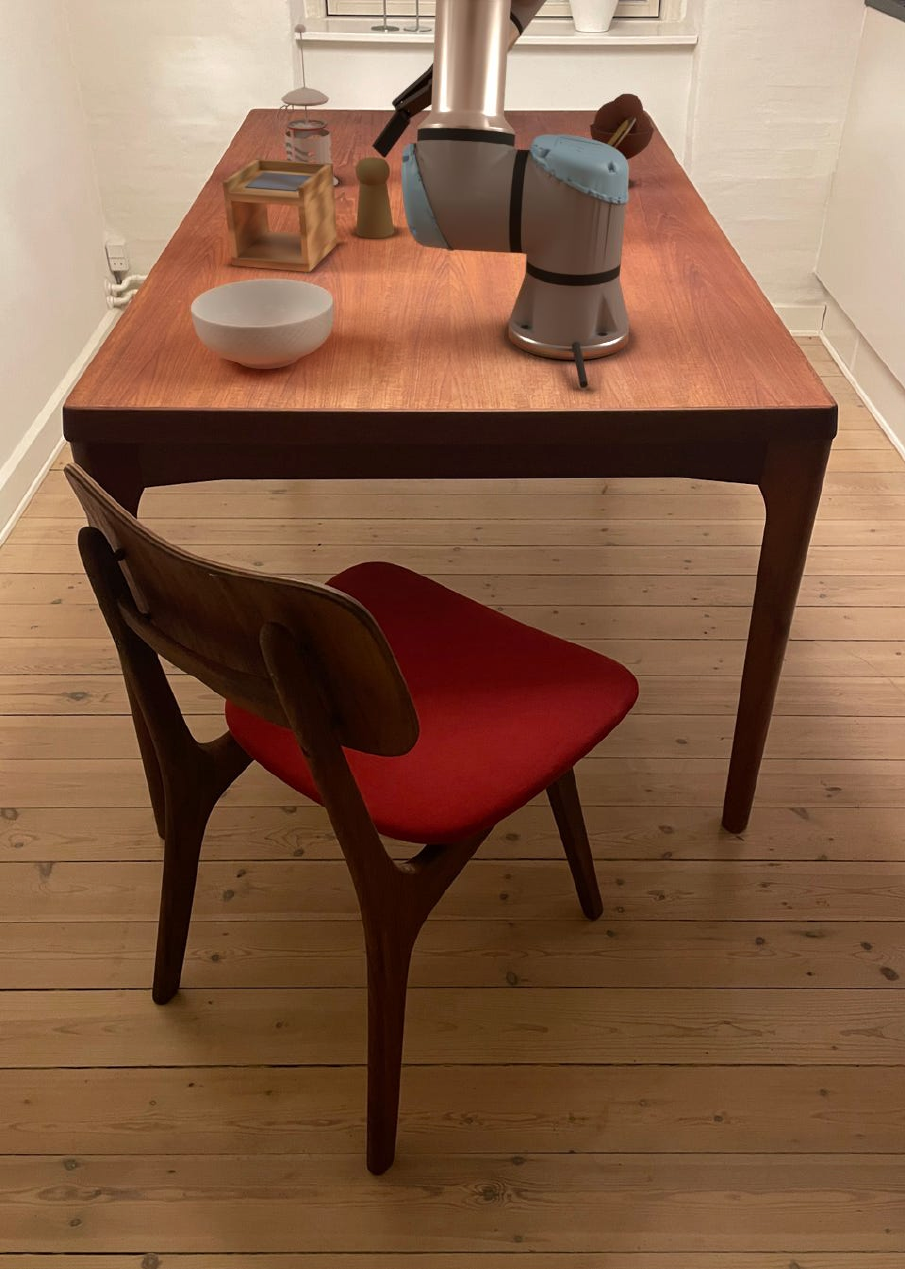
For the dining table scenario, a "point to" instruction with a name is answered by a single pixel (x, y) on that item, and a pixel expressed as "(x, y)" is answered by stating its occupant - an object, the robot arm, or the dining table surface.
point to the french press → (306, 124)
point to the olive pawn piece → (373, 199)
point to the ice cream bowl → (614, 117)
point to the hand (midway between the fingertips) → (399, 161)
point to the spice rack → (281, 187)
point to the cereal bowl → (264, 321)
